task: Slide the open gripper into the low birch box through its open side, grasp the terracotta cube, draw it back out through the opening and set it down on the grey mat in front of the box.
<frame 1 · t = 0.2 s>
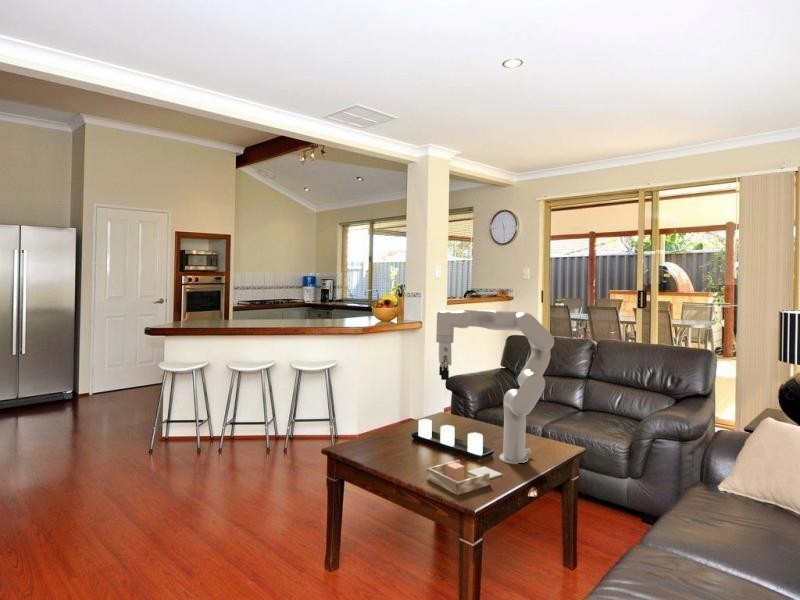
hand: (443, 377, 229), 37 cm above the table, tool pointing down, fingers open, 9 cm apart
terracotta cube: (455, 483, 205), resting in birch box
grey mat: (484, 473, 215), on the table
birch box: (458, 481, 206), on the table
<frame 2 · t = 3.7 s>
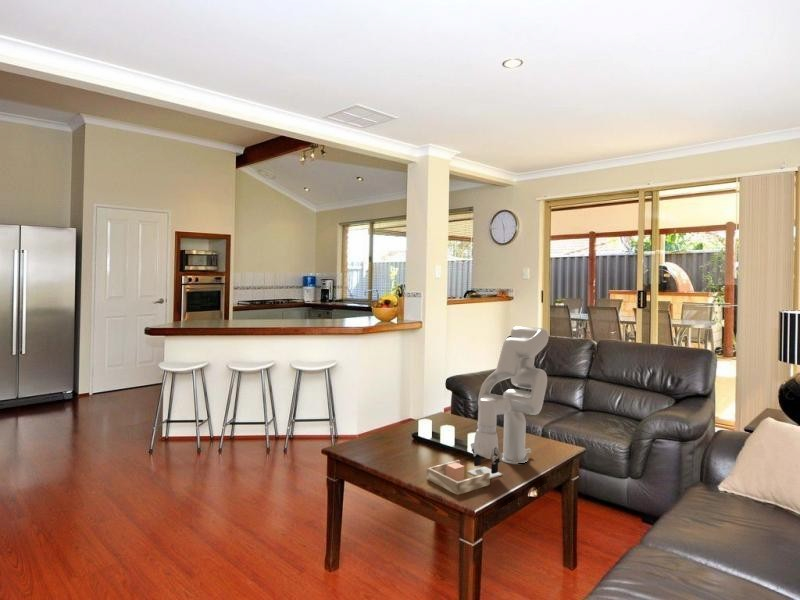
hand: (485, 469, 215), 2 cm above the table, tool pointing down, fingers open, 9 cm apart
nothing on the table moved.
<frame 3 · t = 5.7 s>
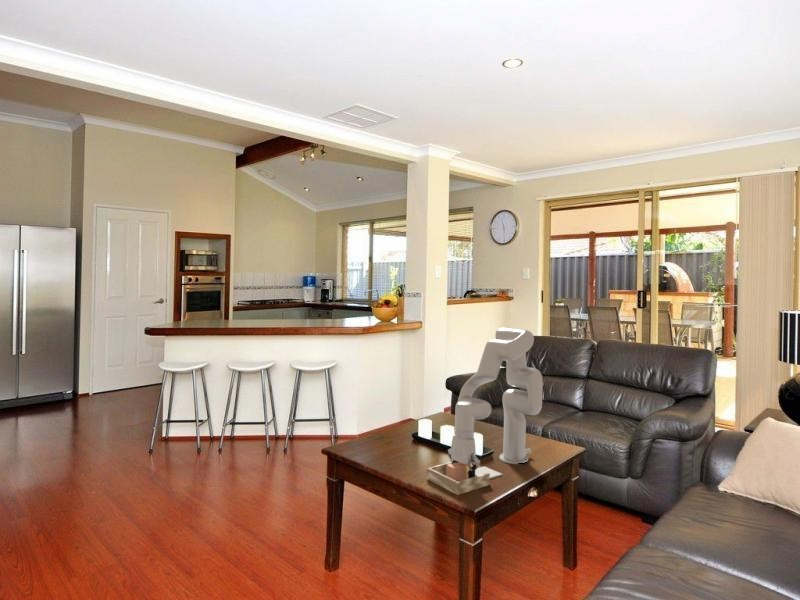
hand: (462, 475, 207), 2 cm above the table, tool pointing down, fingers open, 9 cm apart
nothing on the table moved.
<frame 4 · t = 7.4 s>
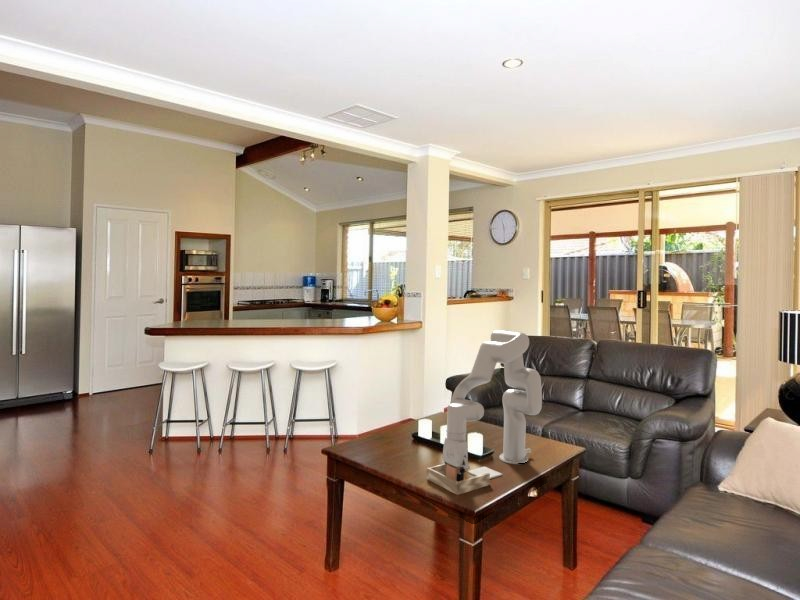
hand: (455, 480, 205), 1 cm above the table, tool pointing down, fingers closed on terracotta cube, 5 cm apart
terracotta cube: (455, 482, 205), resting in birch box, touching gripper
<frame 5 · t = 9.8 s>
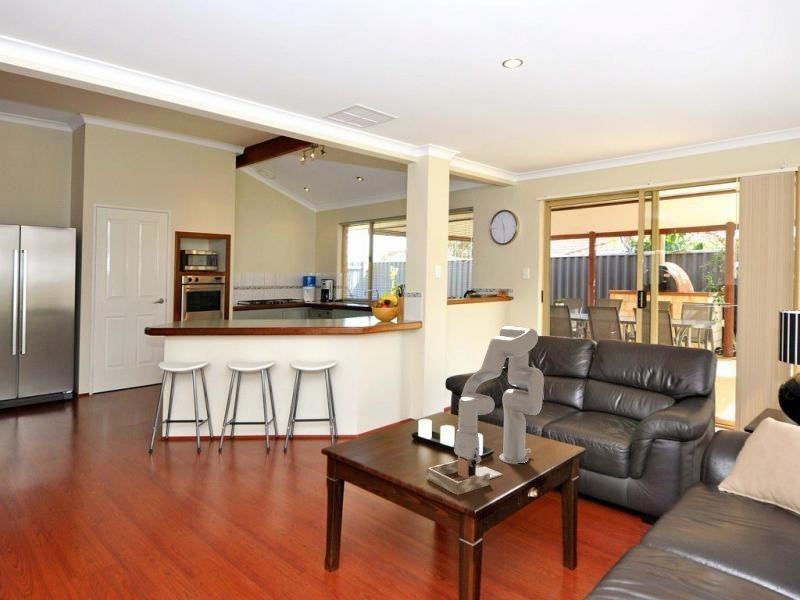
hand: (466, 472, 209), 3 cm above the table, tool pointing down, fingers closed on terracotta cube, 5 cm apart
terracotta cube: (466, 475, 209), point 2 cm above the table, touching gripper
when the fingers open (3 cm above the table, at t = 12.0 s): terracotta cube drops 1 cm, resting on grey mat.
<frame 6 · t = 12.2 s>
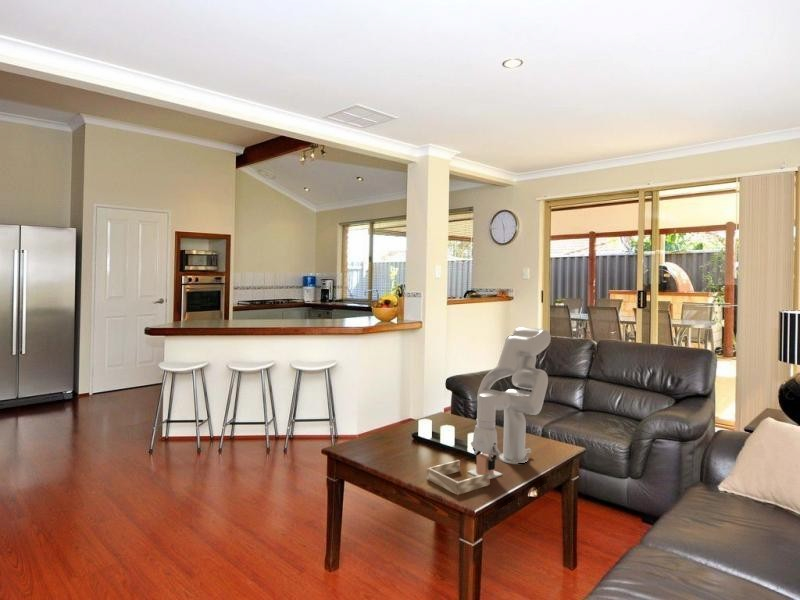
hand: (484, 466, 215), 3 cm above the table, tool pointing down, fingers open, 6 cm apart
terracotta cube: (484, 472, 215), point 1 cm above the table, touching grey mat
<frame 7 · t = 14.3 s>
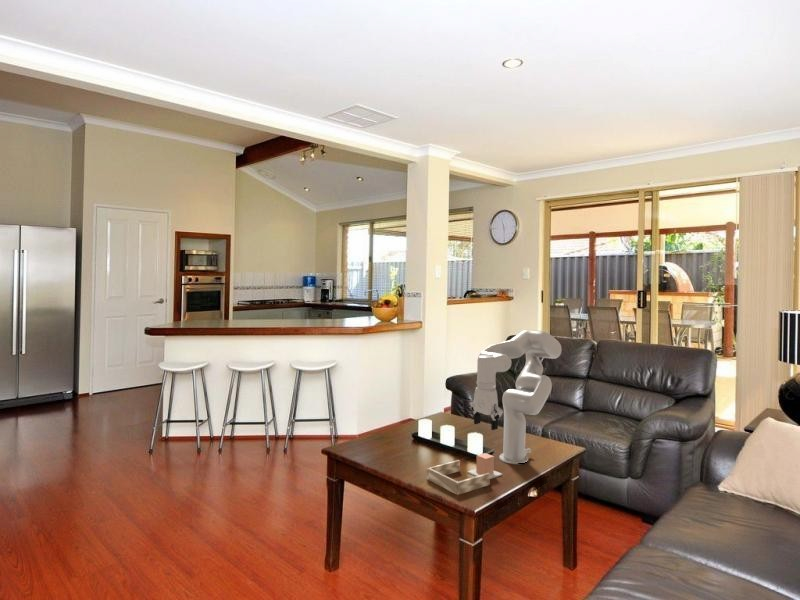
hand: (485, 426, 215), 19 cm above the table, tool pointing down, fingers open, 9 cm apart
nothing on the table moved.
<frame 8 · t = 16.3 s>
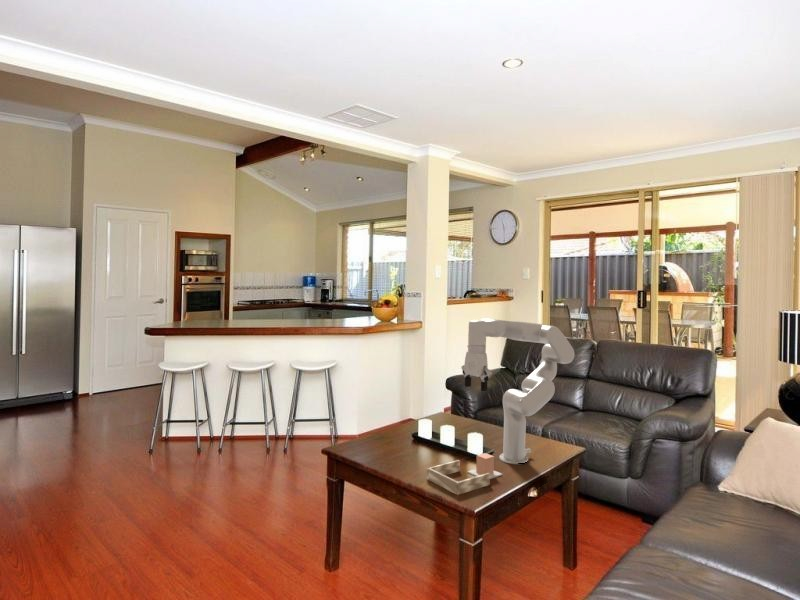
hand: (475, 388, 223), 33 cm above the table, tool pointing down, fingers open, 9 cm apart
nothing on the table moved.
at the end: terracotta cube inside the target area on the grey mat (0.1 cm from its centre), point 0.6 cm above the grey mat's base; terracotta cube tilted 0°; the gripper is holding nothing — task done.
